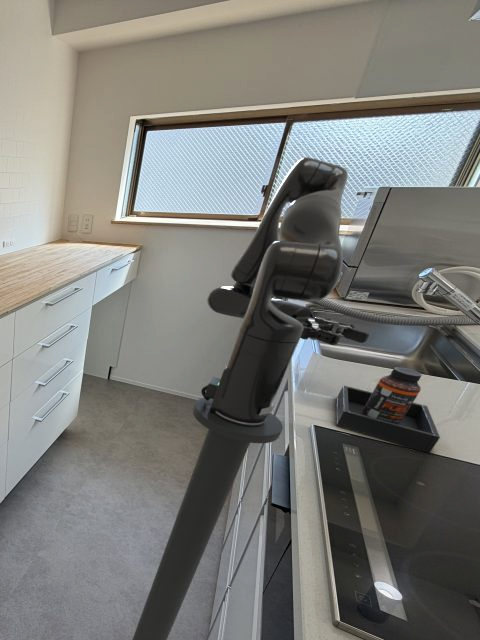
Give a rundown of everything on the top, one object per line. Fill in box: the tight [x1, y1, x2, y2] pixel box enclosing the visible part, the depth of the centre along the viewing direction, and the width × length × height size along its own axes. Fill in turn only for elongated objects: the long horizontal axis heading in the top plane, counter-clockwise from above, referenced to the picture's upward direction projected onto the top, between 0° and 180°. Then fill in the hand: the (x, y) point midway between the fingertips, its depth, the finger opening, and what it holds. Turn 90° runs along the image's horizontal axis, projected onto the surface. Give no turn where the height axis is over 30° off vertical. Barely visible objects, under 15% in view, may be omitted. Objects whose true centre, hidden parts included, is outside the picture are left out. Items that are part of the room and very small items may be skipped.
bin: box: [335, 384, 441, 454], centre depth 84 cm, size 14×16×4 cm
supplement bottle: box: [361, 366, 423, 425], centre depth 82 cm, size 6×6×11 cm
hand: (352, 339), depth 88 cm, fingers open, 8 cm apart
